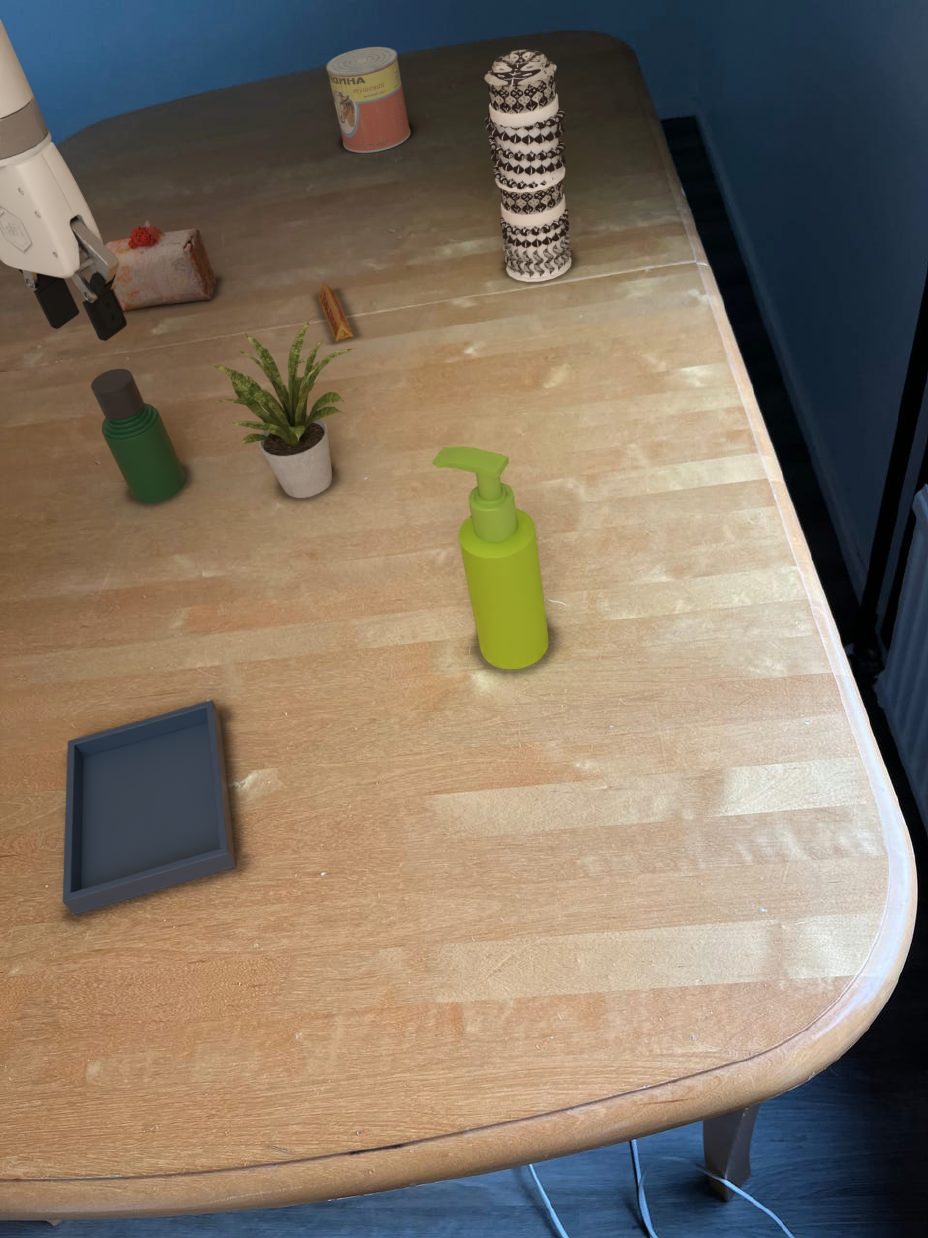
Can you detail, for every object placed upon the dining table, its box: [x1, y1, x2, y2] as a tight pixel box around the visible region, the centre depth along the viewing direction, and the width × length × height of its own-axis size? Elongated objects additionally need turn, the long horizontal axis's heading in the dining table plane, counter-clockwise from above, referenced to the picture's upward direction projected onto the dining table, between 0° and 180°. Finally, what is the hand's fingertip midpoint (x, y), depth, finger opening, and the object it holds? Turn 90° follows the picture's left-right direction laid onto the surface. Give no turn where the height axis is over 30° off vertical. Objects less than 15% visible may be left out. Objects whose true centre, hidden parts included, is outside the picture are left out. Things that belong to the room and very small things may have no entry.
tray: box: [62, 699, 237, 916], centre depth 80 cm, size 15×12×2 cm
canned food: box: [325, 46, 412, 154], centre depth 164 cm, size 11×11×12 cm
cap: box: [90, 368, 145, 420], centre depth 102 cm, size 4×4×3 cm
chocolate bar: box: [317, 281, 354, 342], centre depth 129 cm, size 3×12×2 cm, turn 16°
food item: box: [104, 219, 217, 312], centre depth 137 cm, size 14×8×10 cm, turn 89°
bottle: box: [101, 402, 187, 504], centre depth 106 cm, size 6×6×13 cm
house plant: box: [210, 318, 356, 499], centre depth 101 cm, size 14×14×16 cm
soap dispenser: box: [432, 446, 550, 670], centre depth 80 cm, size 6×7×20 cm
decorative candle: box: [484, 49, 572, 283], centre depth 122 cm, size 9×9×25 cm
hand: (89, 325), depth 96 cm, fingers open, 5 cm apart
